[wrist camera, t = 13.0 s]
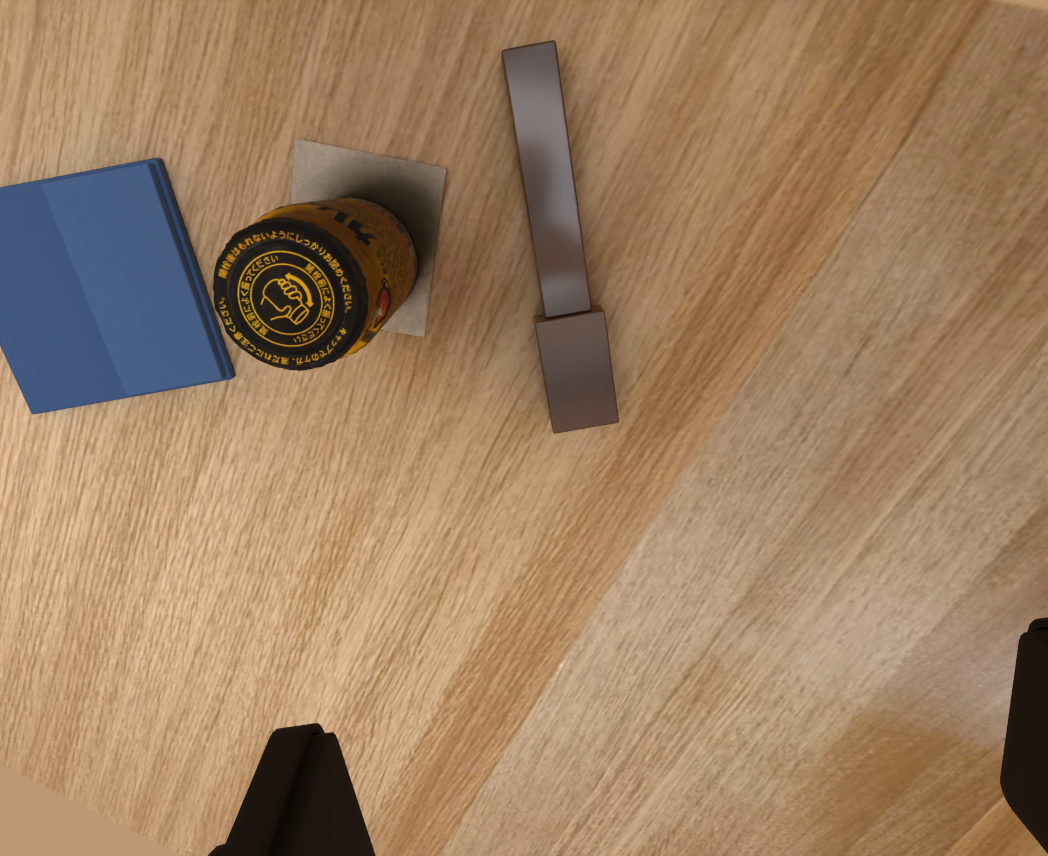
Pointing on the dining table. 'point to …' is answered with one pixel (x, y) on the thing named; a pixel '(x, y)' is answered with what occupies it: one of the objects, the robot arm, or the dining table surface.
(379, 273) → the condiment
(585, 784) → the dining table surface
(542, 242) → the brown bar
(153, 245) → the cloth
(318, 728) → the robot arm
